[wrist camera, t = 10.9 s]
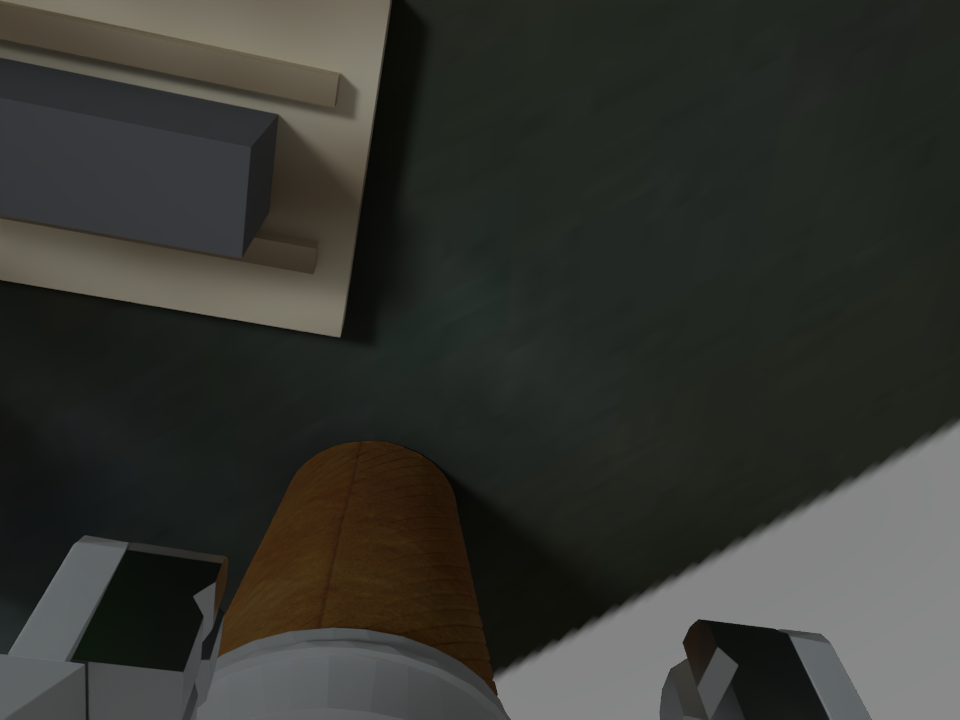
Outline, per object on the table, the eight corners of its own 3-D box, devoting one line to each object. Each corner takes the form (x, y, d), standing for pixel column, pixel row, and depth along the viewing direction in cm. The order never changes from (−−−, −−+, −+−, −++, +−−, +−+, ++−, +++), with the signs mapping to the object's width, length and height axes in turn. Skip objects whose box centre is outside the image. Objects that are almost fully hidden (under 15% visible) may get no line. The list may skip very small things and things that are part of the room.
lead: (-119, 33, 21) (-220, 53, 18) (278, 113, 22) (251, 147, 19) (-106, 141, 22) (-198, 179, 19) (269, 212, 23) (241, 258, 20)
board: (-219, -151, 20) (-277, -157, 18) (394, -11, 22) (389, -6, 20) (-158, 234, 24) (-199, 256, 23) (344, 320, 26) (338, 346, 25)
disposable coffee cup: (443, 630, 33) (443, 962, 23) (211, 566, 31) (92, 899, 21) (542, 449, 29) (599, 751, 19) (283, 362, 27) (180, 647, 17)
